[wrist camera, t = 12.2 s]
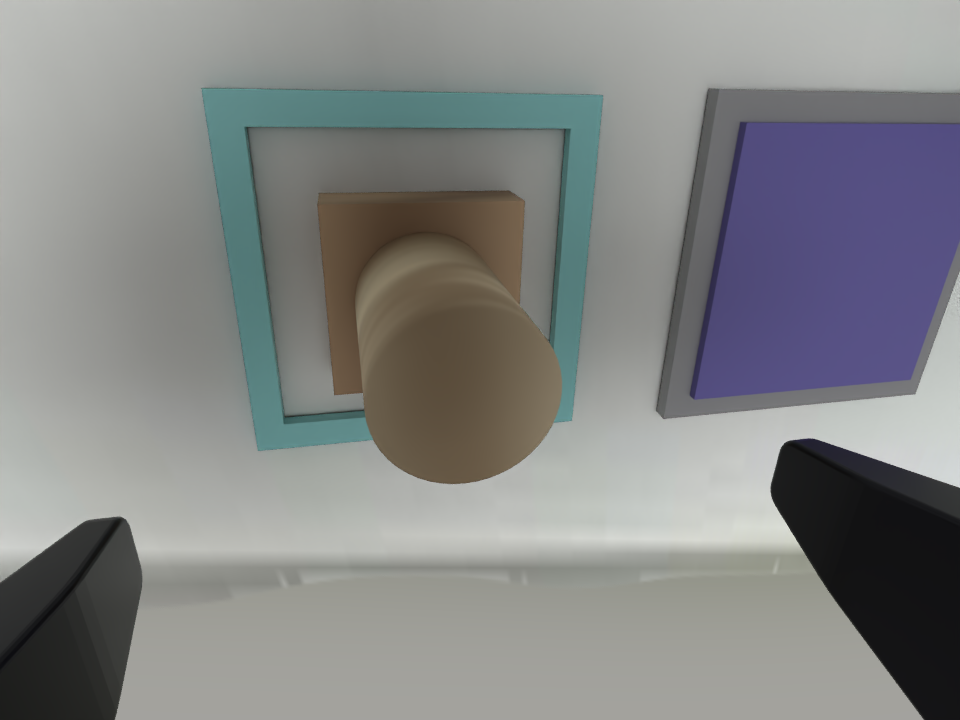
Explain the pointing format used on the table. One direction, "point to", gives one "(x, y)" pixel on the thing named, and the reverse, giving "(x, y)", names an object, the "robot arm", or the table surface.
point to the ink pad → (814, 249)
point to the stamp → (437, 329)
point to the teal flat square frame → (386, 110)
